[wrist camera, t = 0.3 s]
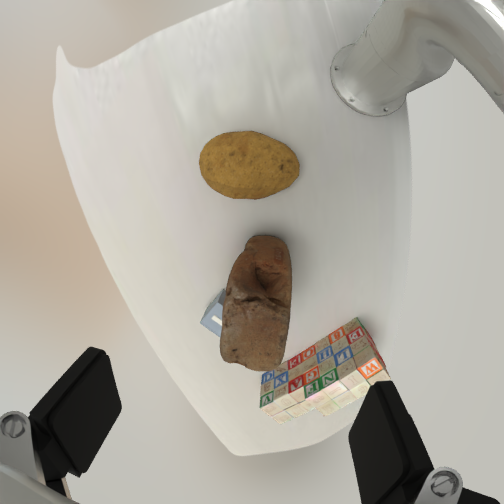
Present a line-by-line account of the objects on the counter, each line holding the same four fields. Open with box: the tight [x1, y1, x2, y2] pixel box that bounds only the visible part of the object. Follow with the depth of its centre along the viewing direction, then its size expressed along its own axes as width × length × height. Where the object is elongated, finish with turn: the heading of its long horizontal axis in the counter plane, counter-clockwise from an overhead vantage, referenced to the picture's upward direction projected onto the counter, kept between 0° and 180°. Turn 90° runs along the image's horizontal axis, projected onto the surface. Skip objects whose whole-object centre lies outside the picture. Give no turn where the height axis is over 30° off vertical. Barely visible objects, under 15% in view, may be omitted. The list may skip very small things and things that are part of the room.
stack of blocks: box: [260, 317, 391, 424], centre depth 44 cm, size 21×6×12 cm, turn 129°
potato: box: [199, 131, 300, 200], centre depth 37 cm, size 10×13×9 cm
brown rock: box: [220, 235, 292, 372], centre depth 36 cm, size 11×8×20 cm
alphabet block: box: [200, 289, 226, 337], centre depth 46 cm, size 5×5×5 cm
